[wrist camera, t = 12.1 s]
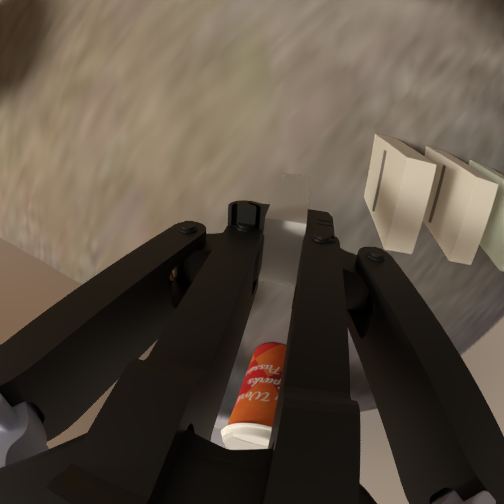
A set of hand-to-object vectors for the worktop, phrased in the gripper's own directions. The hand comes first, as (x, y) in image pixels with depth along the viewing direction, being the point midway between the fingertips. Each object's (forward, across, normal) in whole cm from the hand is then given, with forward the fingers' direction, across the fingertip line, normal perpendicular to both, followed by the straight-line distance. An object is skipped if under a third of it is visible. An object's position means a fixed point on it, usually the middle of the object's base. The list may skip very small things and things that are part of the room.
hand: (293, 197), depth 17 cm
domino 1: (+11, +7, 0) cm, 13 cm away
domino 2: (+11, +12, 0) cm, 16 cm away
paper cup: (+11, 0, -26) cm, 28 cm away
